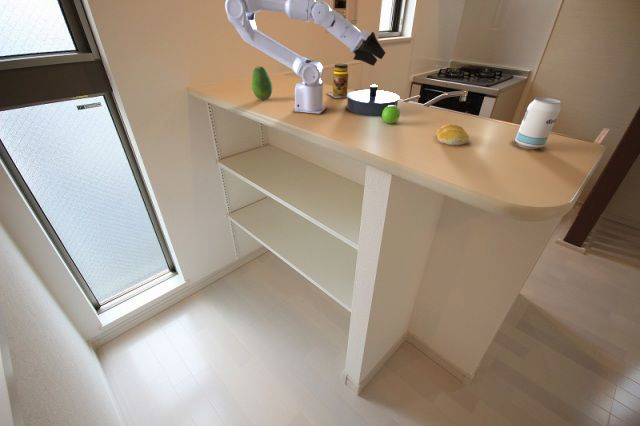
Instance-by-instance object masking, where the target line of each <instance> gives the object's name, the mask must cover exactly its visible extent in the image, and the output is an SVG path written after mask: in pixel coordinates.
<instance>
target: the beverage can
mask: <svg viewBox="0 0 640 426" xmlns="http://www.w3.org/2000/svg"><path fill="white" fill-rule="evenodd" d="M561 110H562V107H561V101H560V100H558V99H556V98H550V97H535V98H534V100H533V101H531V102H530V103H529V105H528V106H527V109H526V111H525V113H524V116H523V118H522V121H521V123H520V126H519V128H518V131H517V134H516V137H515V139H514V141H515V143H516V144H517V146H518V147H521V148H523V149H526V150H527V149H528V150H538V149H539V148H543V147H544V146H545V145H546V143H547V140H548V139H549V136H550V134H551V132H552V130H553V128H554V127H555V124H556V122H557V119H558V117H559V115H560V112H561Z"/></svg>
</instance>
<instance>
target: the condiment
mask: <svg viewBox="0 0 640 426" xmlns="http://www.w3.org/2000/svg"><path fill="white" fill-rule="evenodd" d="M348 67H349V66H348V64H347V63H335V64H334V68H333V69H334V71H333V73H332V74H333V75H332V92H330V93H329V92H328V93H327V94H328V95H329V96H331V97H333V98H334V99H343V98H347V94H348V84H349V72H348V70H349V69H348Z"/></svg>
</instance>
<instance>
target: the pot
mask: <svg viewBox="0 0 640 426" xmlns="http://www.w3.org/2000/svg"><path fill="white" fill-rule="evenodd" d="M398 103H399V101H397V102H395V103H390V104H365V103H359V102H355V101H352V100H349V99H348V98H347V101H346V109H347V111H349V112H350V113H353V114H357V115H361V116H368V117H369V116H370V117H382V113H383V110H384V109H385V108H386V107H387V106H390V105H393V106H396V107H397V108H398V105H399V104H398Z"/></svg>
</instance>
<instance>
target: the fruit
mask: <svg viewBox="0 0 640 426" xmlns="http://www.w3.org/2000/svg"><path fill="white" fill-rule="evenodd" d="M251 90H252V92H253V94H254V96H255V97H256V98H257V99H258V100H261V101H265V100H268V99H269V98H270V97H271V96H272V94H273V82H272V79H271V78H270V75H269V73H268V71H267V70H266V68H265V67H263V66H260V65H259V66H256V67H255V68H254V69H253V72H252V79H251Z"/></svg>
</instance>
